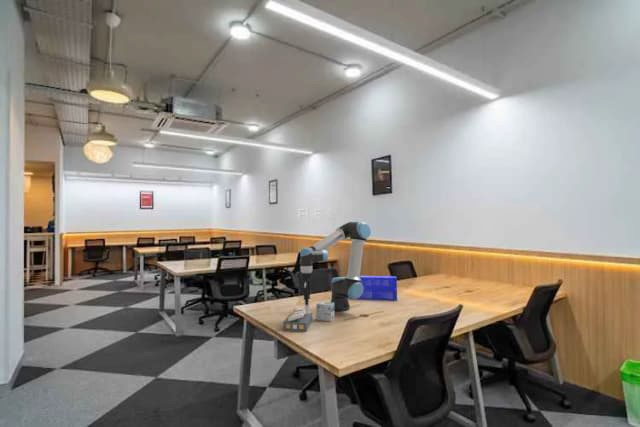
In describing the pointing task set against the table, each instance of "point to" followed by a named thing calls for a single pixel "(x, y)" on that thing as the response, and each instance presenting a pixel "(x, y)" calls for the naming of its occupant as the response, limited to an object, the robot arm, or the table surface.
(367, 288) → the toner cartridge box
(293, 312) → the rocker mid
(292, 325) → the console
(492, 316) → the table surface
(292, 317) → the rocker near
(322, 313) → the light bulb box
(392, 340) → the table surface
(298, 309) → the rocker far
